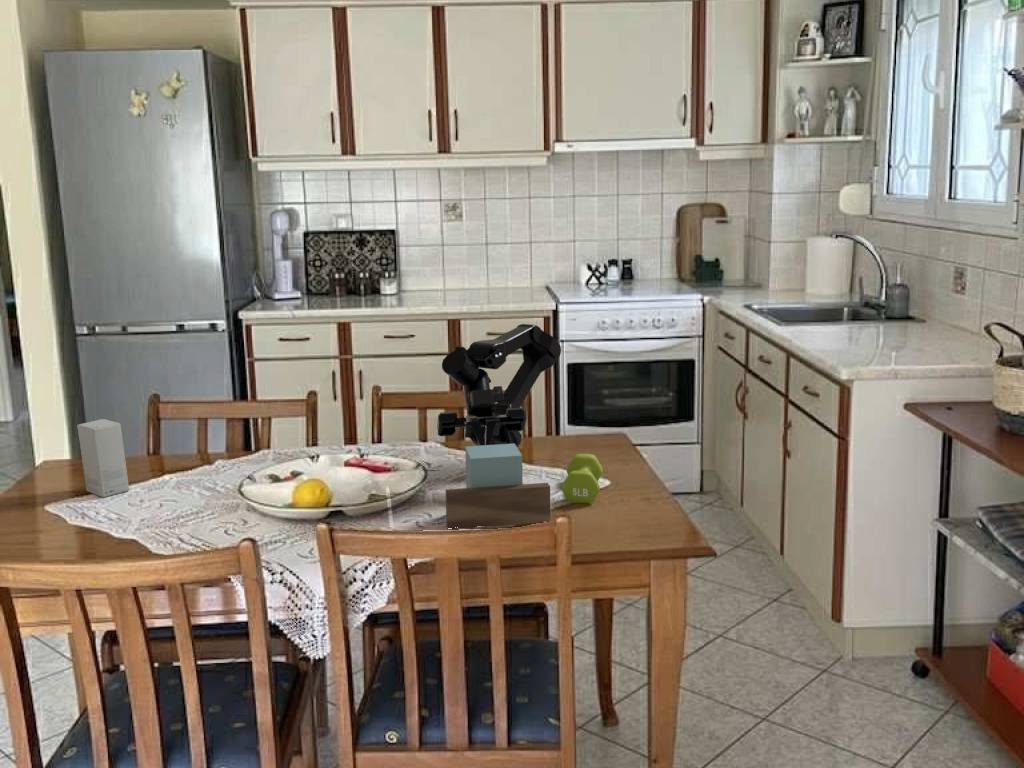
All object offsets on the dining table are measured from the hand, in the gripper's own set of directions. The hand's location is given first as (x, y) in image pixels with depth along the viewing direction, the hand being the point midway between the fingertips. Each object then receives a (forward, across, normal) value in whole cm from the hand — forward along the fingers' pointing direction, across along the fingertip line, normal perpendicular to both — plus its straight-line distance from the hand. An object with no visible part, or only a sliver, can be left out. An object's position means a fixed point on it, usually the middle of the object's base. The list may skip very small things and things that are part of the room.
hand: (486, 456), depth 207 cm
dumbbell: (+8, +20, +6) cm, 23 cm away
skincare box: (-11, -82, +24) cm, 86 cm away
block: (+14, 0, -3) cm, 15 cm away
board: (+19, 0, -6) cm, 20 cm away
